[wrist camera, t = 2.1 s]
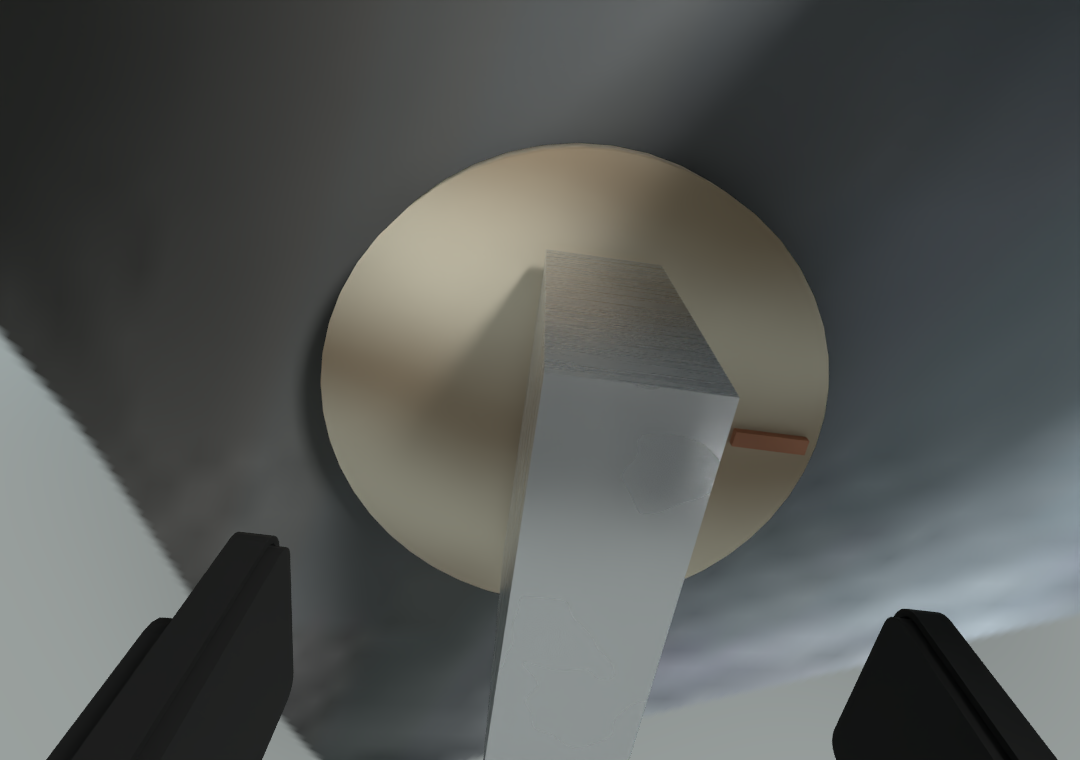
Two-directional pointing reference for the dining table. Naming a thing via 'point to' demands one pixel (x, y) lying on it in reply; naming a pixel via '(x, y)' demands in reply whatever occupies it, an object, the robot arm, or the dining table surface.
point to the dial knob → (601, 507)
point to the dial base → (508, 332)
